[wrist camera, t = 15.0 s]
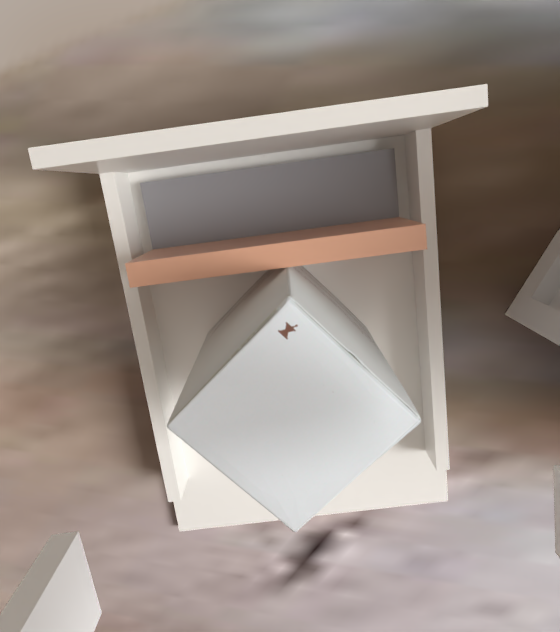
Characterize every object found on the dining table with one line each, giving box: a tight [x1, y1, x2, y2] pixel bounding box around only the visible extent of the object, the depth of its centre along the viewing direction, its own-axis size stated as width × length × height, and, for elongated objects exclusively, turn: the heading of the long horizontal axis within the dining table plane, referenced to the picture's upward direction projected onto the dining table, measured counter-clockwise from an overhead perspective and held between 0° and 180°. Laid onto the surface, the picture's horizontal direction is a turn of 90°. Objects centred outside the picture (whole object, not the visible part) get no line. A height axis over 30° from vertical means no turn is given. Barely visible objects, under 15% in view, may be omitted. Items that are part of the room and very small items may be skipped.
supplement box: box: [167, 266, 421, 532], centre depth 26 cm, size 7×7×13 cm
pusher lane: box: [28, 84, 488, 531], centre depth 27 cm, size 19×25×11 cm
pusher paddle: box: [125, 148, 427, 288], centre depth 27 cm, size 14×5×6 cm, turn 97°
